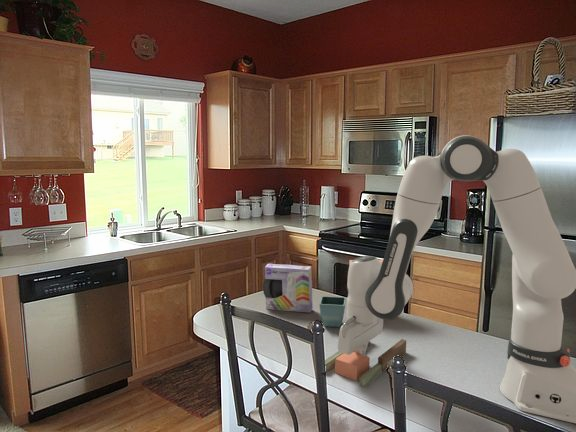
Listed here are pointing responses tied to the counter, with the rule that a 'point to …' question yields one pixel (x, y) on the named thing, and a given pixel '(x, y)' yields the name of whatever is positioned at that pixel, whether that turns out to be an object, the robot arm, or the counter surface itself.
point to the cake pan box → (288, 287)
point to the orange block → (352, 365)
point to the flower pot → (332, 310)
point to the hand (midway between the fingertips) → (360, 357)
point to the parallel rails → (377, 368)
